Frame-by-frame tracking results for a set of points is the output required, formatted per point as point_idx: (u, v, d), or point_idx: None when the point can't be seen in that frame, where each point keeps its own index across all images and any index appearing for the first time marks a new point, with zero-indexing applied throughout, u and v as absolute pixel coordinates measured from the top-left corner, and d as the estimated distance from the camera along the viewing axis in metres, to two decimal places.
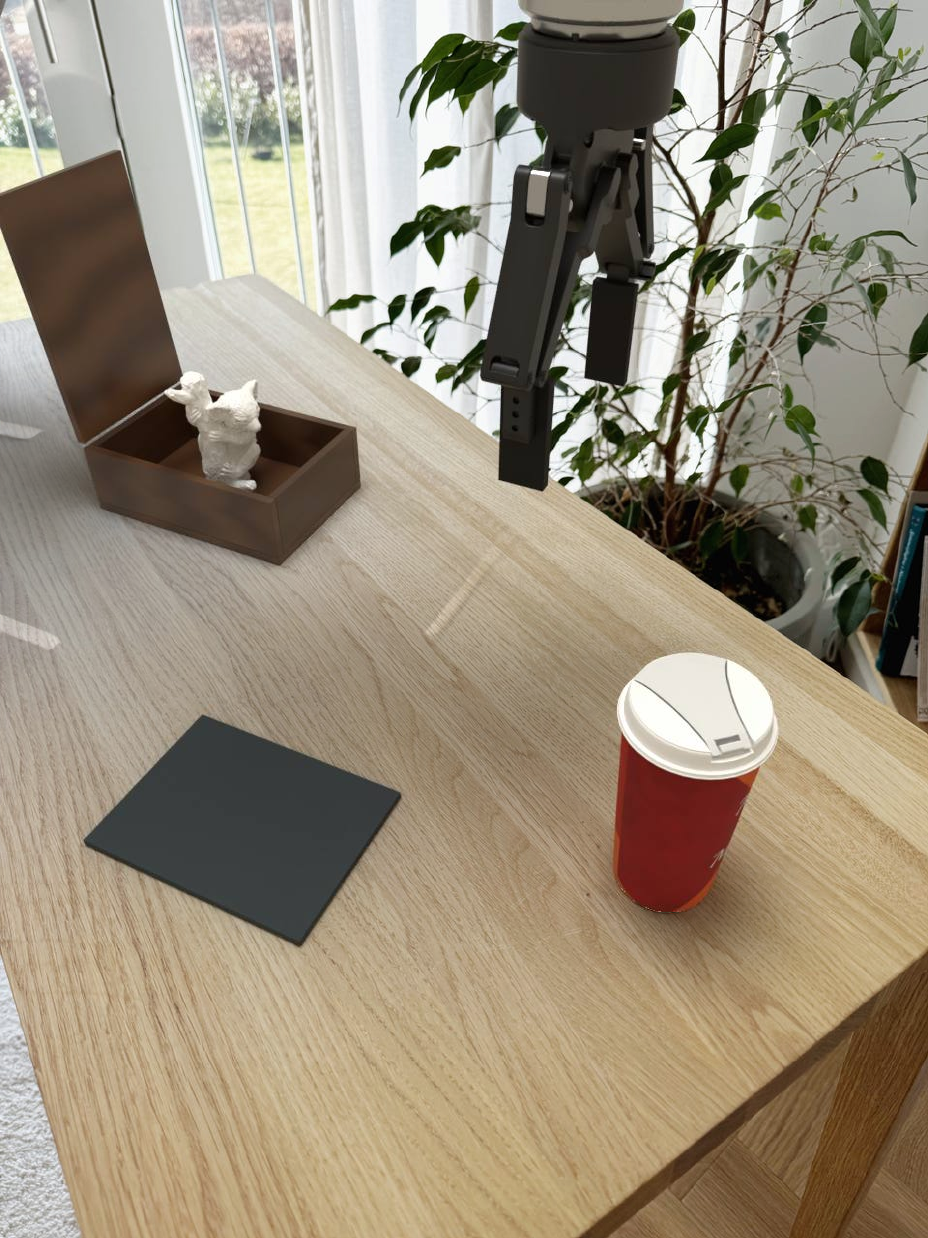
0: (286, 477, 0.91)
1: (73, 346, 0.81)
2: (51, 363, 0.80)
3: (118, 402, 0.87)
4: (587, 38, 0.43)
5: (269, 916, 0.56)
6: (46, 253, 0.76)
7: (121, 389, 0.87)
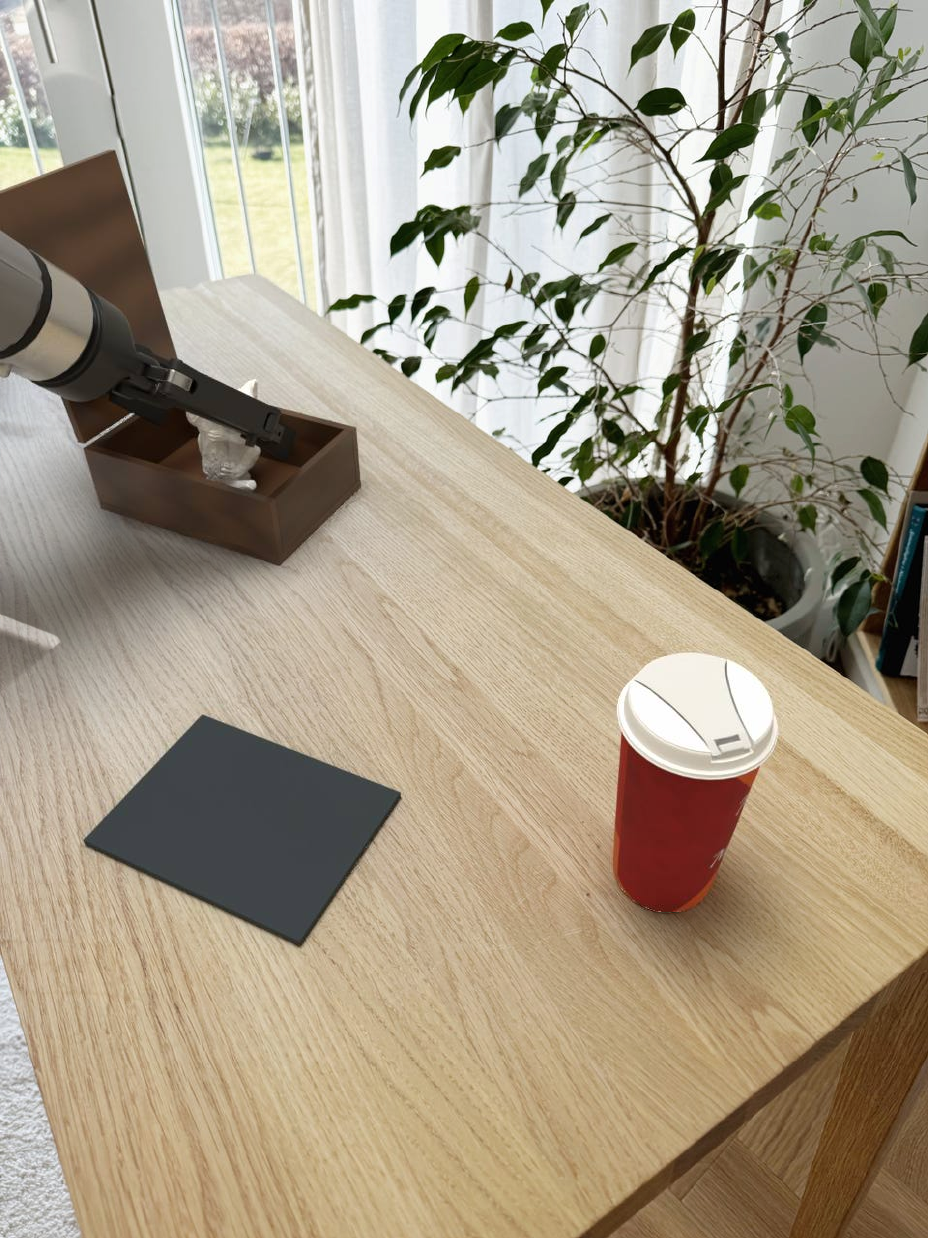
0: (286, 477, 0.91)
1: None
2: None
3: None
4: None
5: (269, 916, 0.56)
6: (42, 253, 0.77)
7: None
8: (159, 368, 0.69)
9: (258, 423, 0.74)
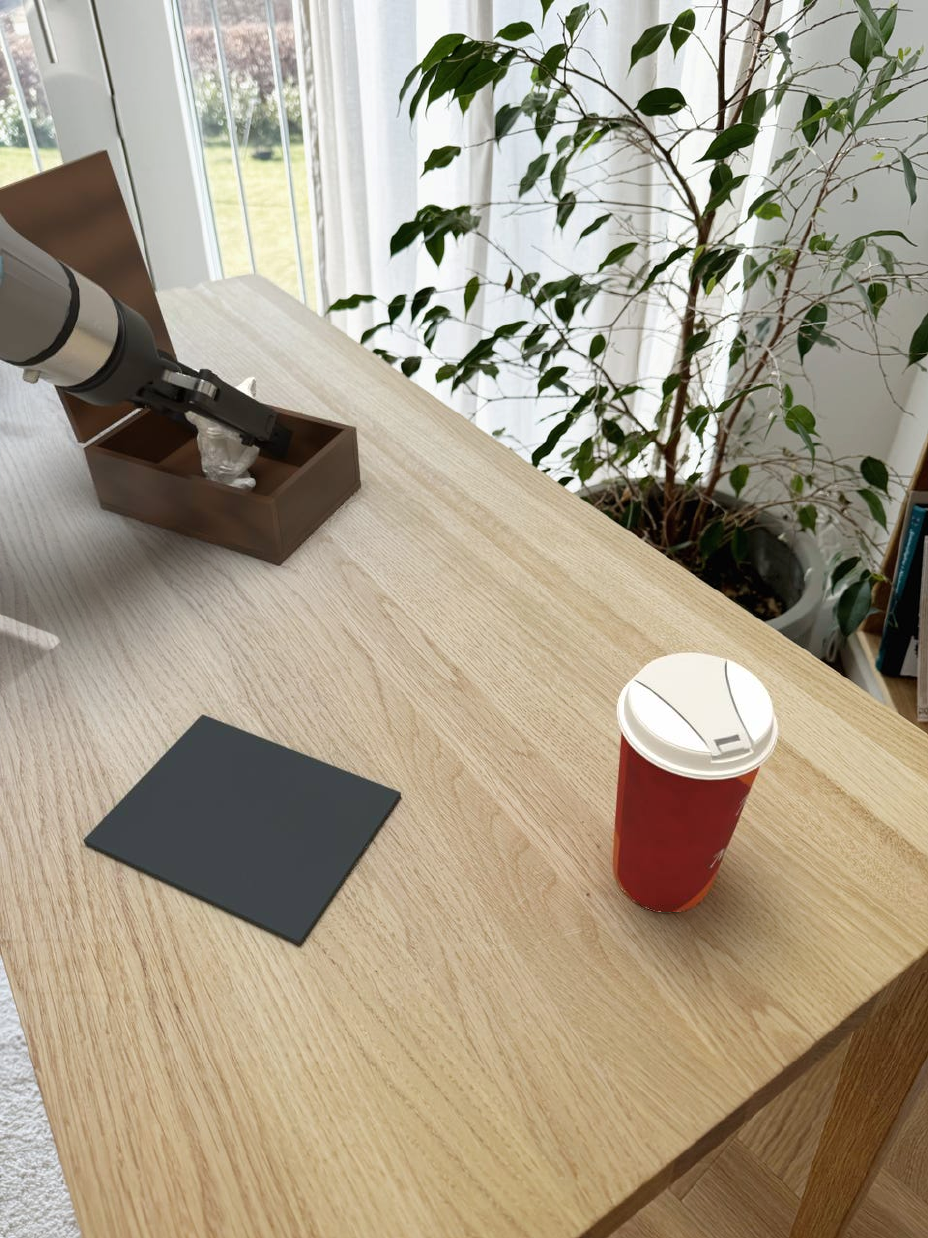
0: (286, 477, 0.91)
1: None
2: None
3: None
4: None
5: (269, 916, 0.56)
6: None
7: None
8: (188, 377, 0.71)
9: (261, 426, 0.78)
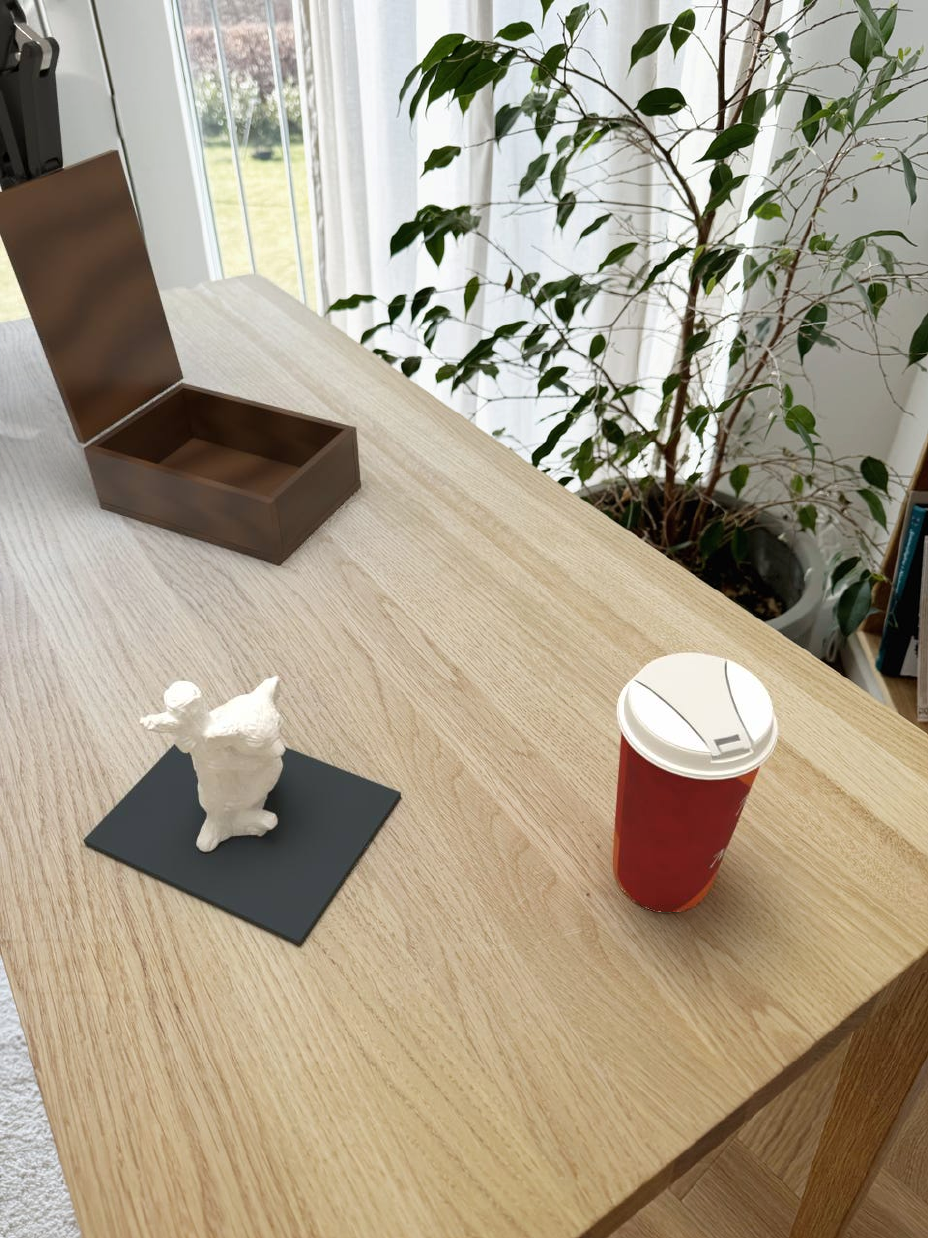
0: (286, 477, 0.91)
1: (72, 346, 0.81)
2: (50, 363, 0.80)
3: (118, 402, 0.87)
4: None
5: (269, 916, 0.56)
6: (44, 253, 0.77)
7: (121, 389, 0.87)
8: (33, 31, 0.70)
9: (46, 154, 0.75)
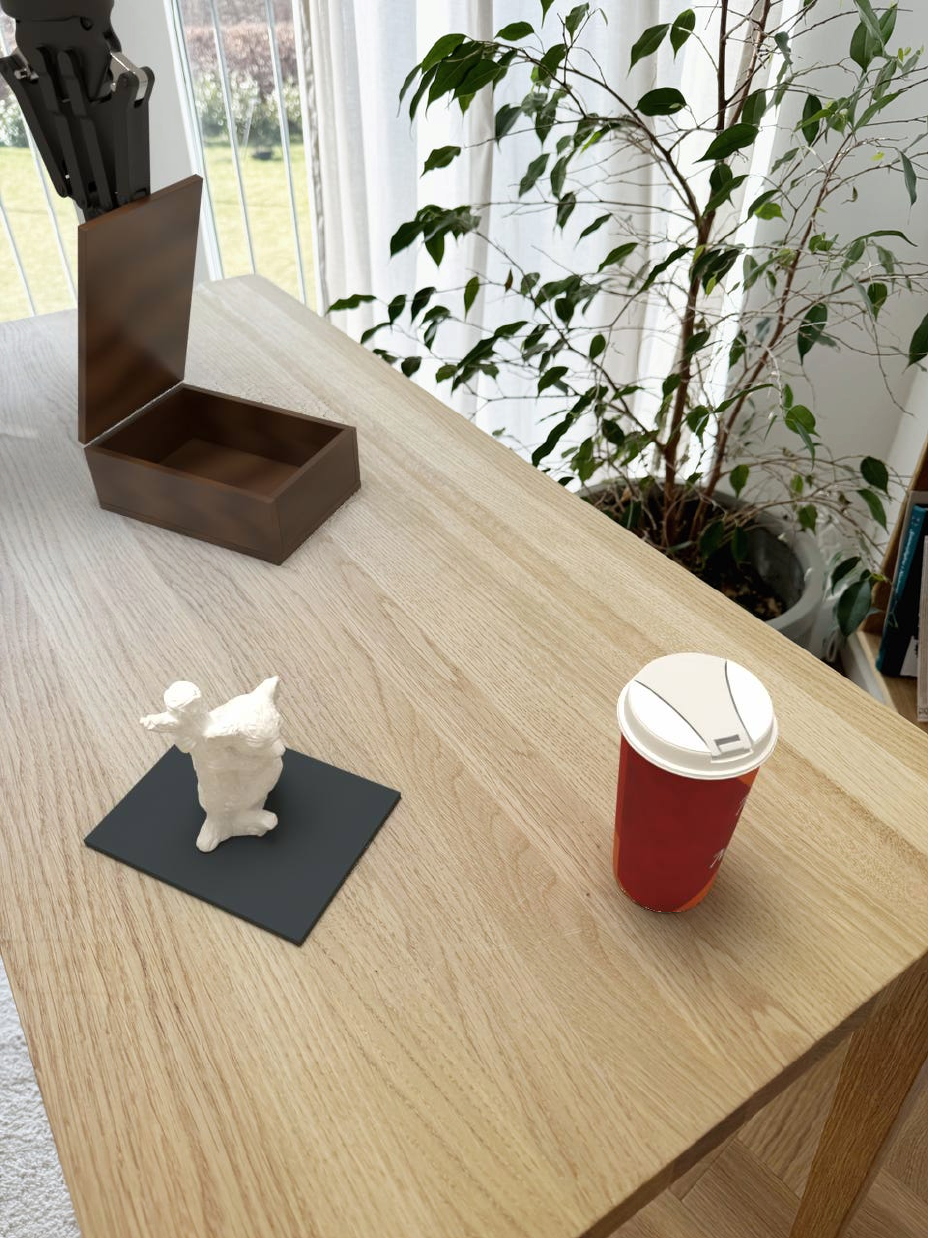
0: (286, 477, 0.91)
1: (104, 360, 0.80)
2: (80, 374, 0.79)
3: (124, 406, 0.87)
4: None
5: (269, 916, 0.56)
6: (110, 278, 0.75)
7: (130, 394, 0.86)
8: (129, 61, 0.68)
9: (136, 185, 0.73)
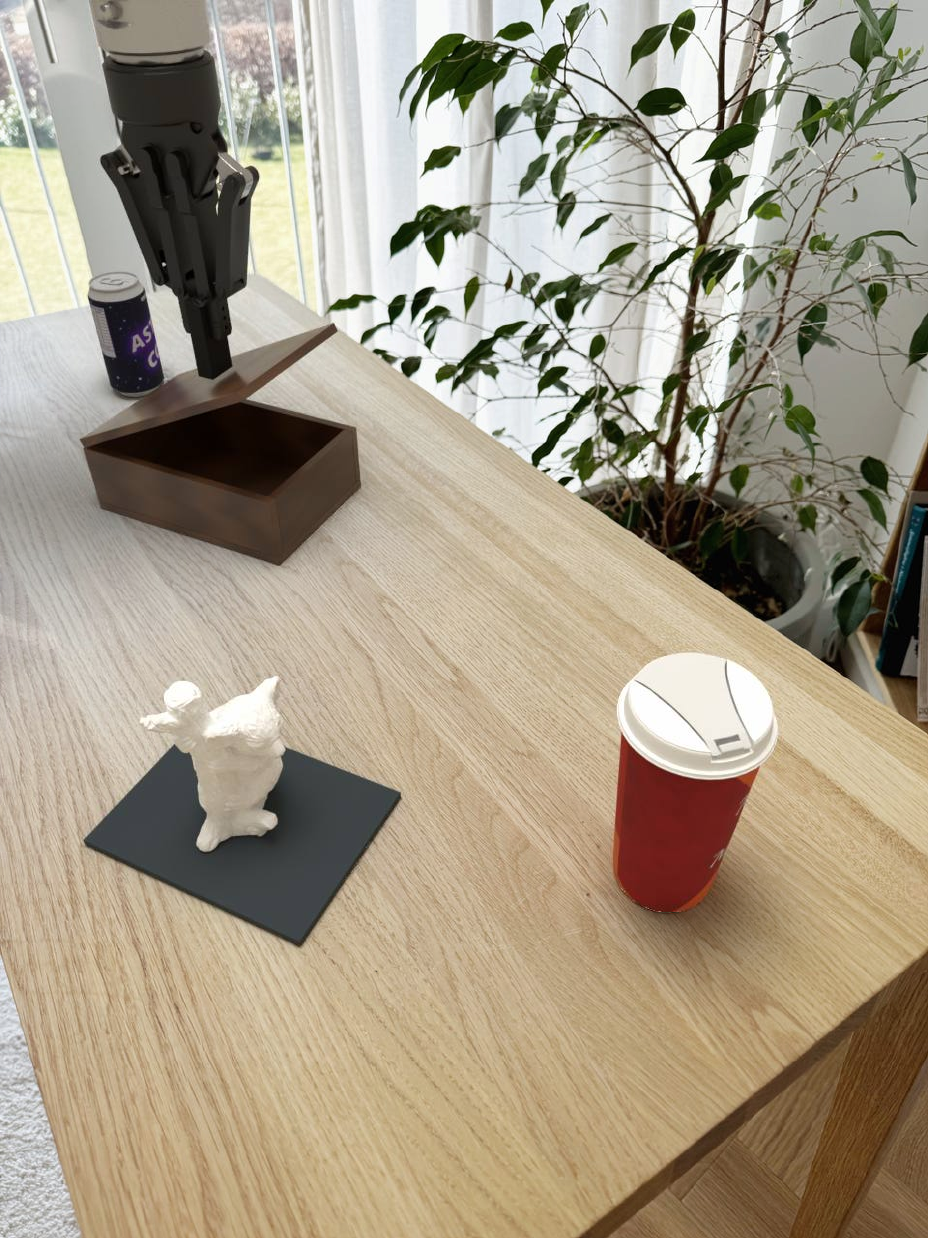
0: (286, 477, 0.91)
1: None
2: (132, 427, 0.80)
3: None
4: None
5: (269, 916, 0.56)
6: None
7: None
8: (235, 161, 0.69)
9: (234, 276, 0.74)
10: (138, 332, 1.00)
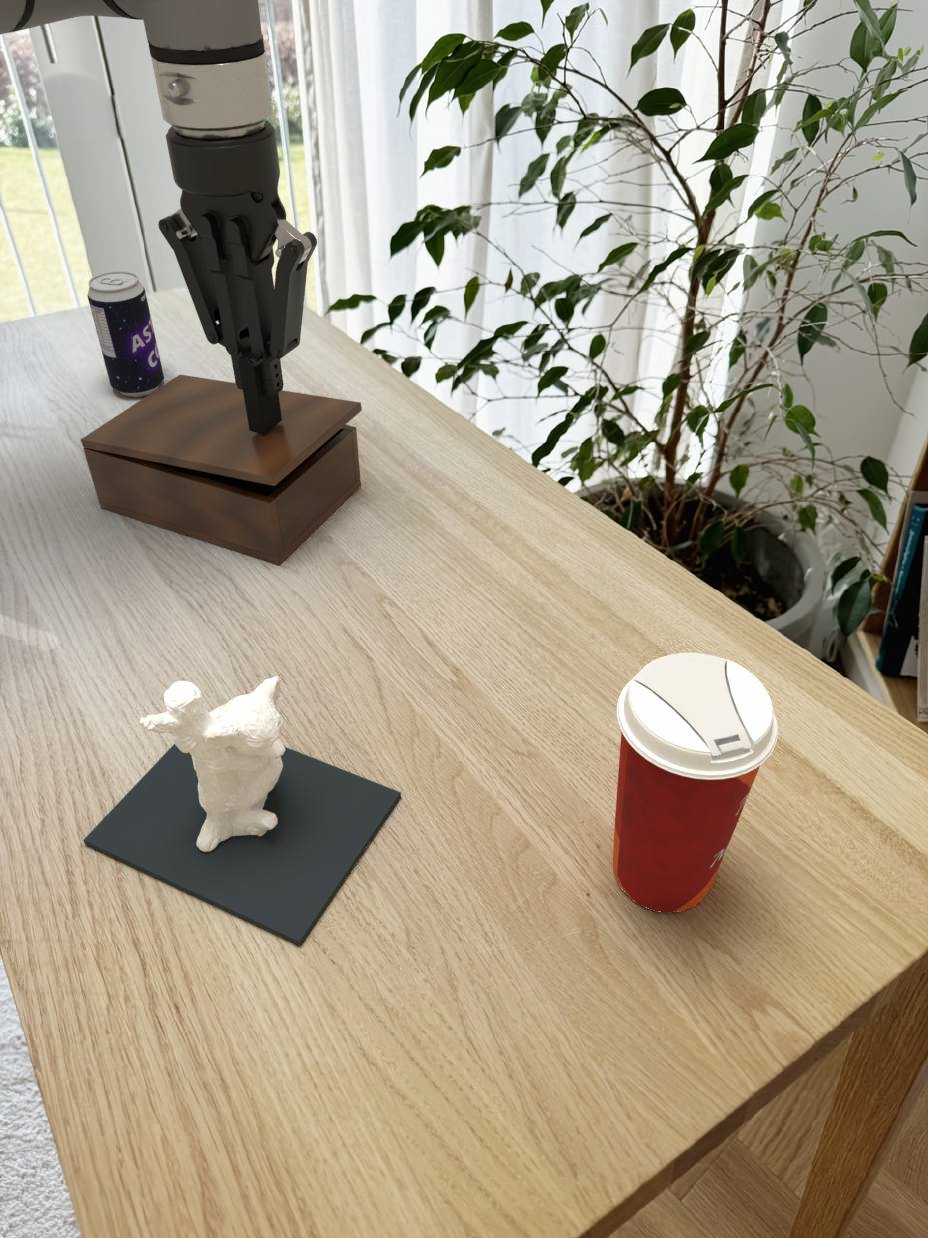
0: (286, 477, 0.91)
1: None
2: (146, 455, 0.81)
3: None
4: None
5: (269, 916, 0.56)
6: None
7: None
8: (294, 228, 0.70)
9: (289, 337, 0.75)
10: (138, 332, 1.00)
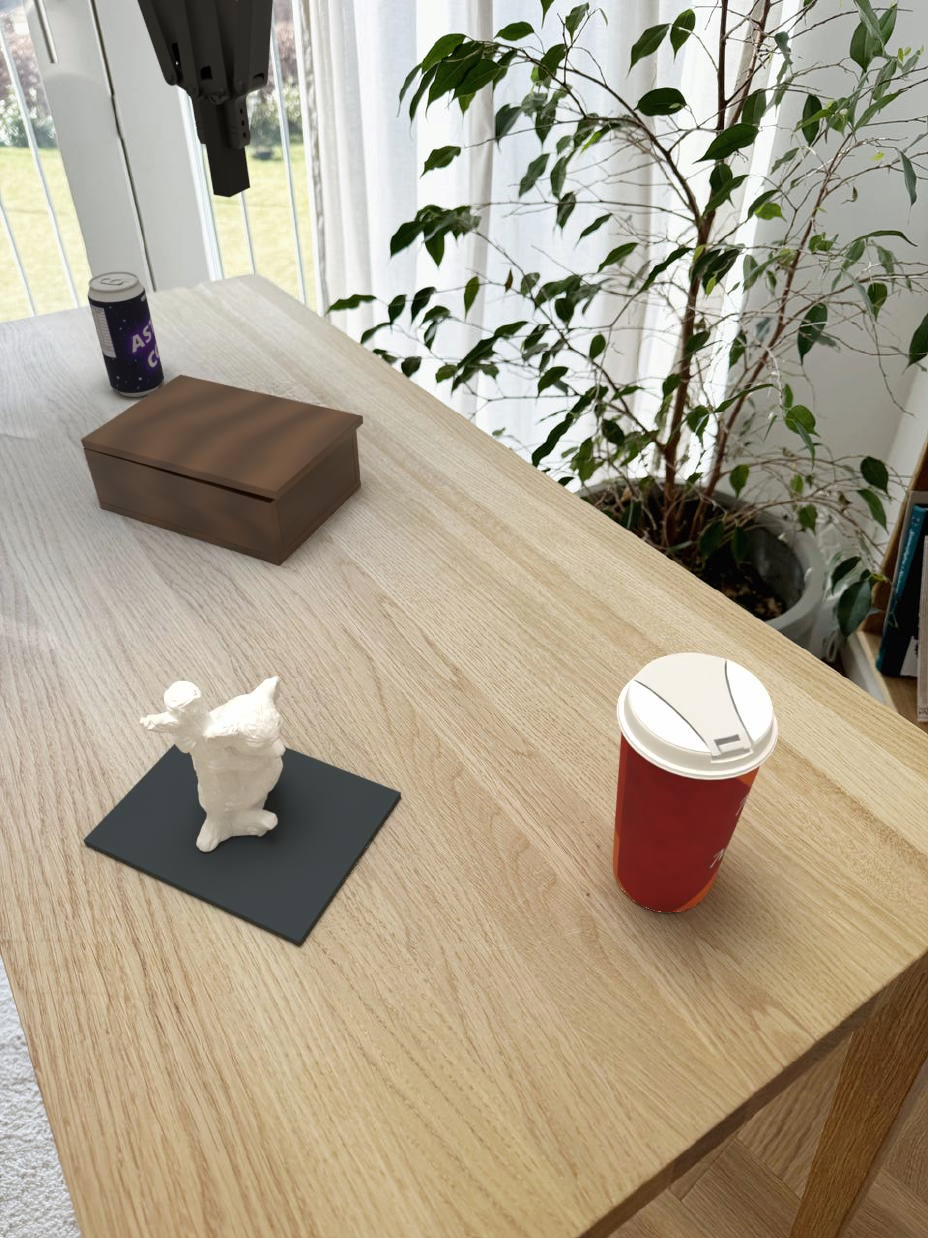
0: None
1: None
2: (147, 460, 0.82)
3: None
4: None
5: (269, 916, 0.56)
6: None
7: None
8: None
9: (255, 67, 0.68)
10: (138, 332, 1.00)
